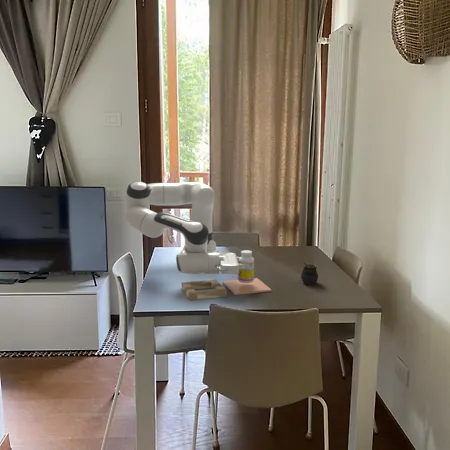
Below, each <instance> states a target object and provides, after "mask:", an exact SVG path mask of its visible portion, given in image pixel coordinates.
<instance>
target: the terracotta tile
mask: <svg viewBox="0 0 450 450" xmlns="http://www.w3.org/2000/svg"><path fill="white" fill-rule="evenodd" d="M222 284H223V285H224V286H225V287H226V288H227V289H228V290H229V291H230V293H231V294H233V295H234V296H241V295H250V294H258V293H268V292H272V289H271V288H270V287H269V286H268V285H267V284H265V283H264V282H263V281H262V280H261V279H259V278H258V277H254V281H253V282H251V283H242V282H240V281H239V280H238V279H233V280H223V281H222Z"/></svg>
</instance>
